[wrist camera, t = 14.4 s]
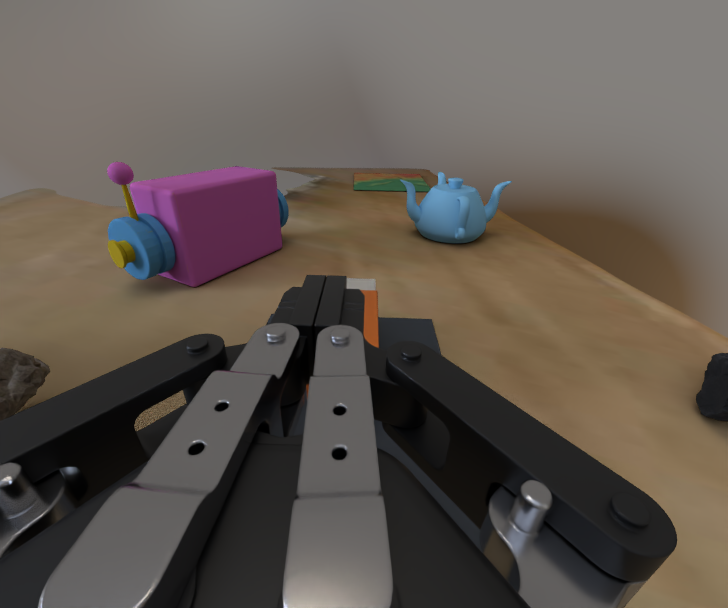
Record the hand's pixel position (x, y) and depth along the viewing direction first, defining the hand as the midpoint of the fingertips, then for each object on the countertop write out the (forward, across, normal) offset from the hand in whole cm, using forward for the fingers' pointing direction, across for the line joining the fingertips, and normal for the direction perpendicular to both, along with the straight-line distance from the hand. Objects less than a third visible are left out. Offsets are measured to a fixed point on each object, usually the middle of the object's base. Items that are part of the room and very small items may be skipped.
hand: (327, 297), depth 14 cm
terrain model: (+103, -8, +14) cm, 104 cm away
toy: (+38, +20, +15) cm, 45 cm away
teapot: (+54, -17, +15) cm, 59 cm away
